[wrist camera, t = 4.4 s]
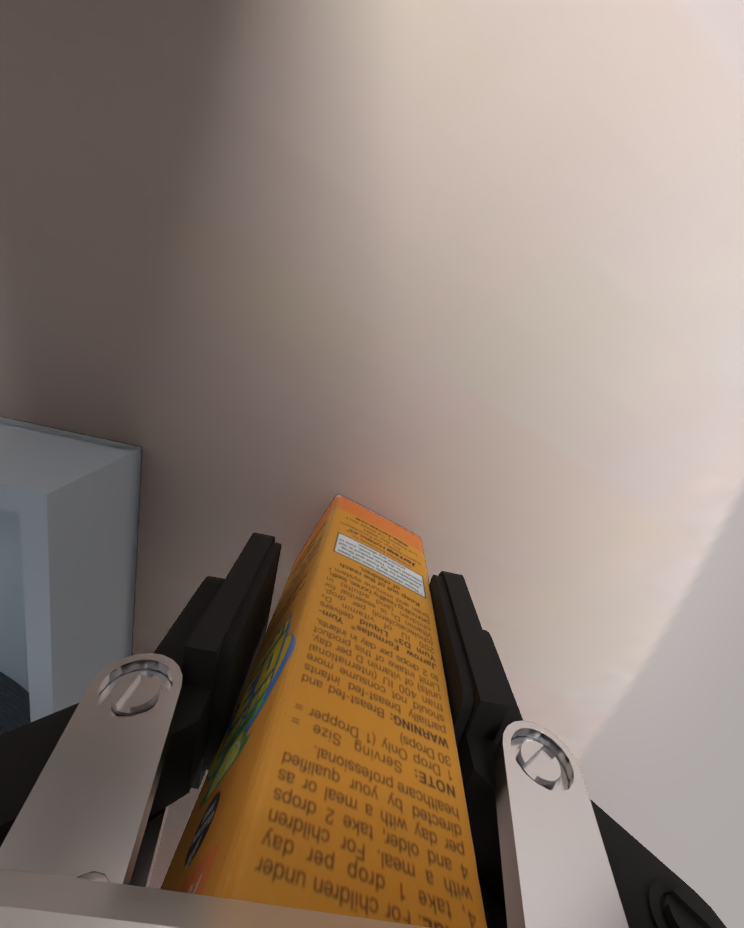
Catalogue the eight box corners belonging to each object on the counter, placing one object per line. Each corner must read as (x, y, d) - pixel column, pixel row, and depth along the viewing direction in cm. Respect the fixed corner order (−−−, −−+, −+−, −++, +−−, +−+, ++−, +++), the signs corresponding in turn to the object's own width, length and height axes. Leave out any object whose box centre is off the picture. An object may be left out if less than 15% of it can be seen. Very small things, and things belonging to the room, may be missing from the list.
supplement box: (330, 483, 12) (191, 976, 3) (422, 534, 13) (557, 1088, 3) (282, 563, 13) (55, 1135, 4) (370, 607, 14) (362, 1203, 4)
